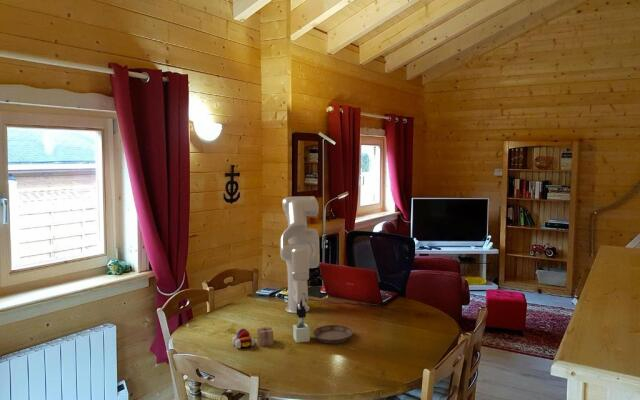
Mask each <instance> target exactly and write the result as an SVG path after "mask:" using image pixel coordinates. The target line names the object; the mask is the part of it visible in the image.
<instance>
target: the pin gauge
mask: <svg viewBox="0 0 640 400" xmlns="http://www.w3.org/2000/svg"><path fill="white" fill-rule="evenodd" d="M300 302H302V301H300ZM297 304H298V309H299V303H297ZM297 317H298V316H297ZM297 319H298V325H299V328H304V324H305V319H304V318H299V317H298V318H297Z"/></svg>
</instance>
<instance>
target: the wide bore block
mask: <svg viewBox="0 0 640 400" xmlns="http://www.w3.org/2000/svg"><path fill="white" fill-rule="evenodd" d="M292 328H293V330H292V333H293V334H292V335H293V340H294V341H295V343H305V342H310V340H311V339H310V338H311V337H310V336H311V334H310V329H311V328H310V326H309V325H308V323H304V328H299V325H298V324H293V325H292Z"/></svg>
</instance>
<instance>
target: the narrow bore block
mask: <svg viewBox="0 0 640 400" xmlns="http://www.w3.org/2000/svg"><path fill="white" fill-rule="evenodd" d="M256 331H257V333H256V335H257V337H256V338H257V343H258V345H260V346H259V347H264V346H265V345H266V346H272V344H273V345H274V330H273V328H272V326H262V327H257V329H256Z"/></svg>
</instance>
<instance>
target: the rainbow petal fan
mask: <svg viewBox="0 0 640 400" xmlns="http://www.w3.org/2000/svg"><path fill="white" fill-rule="evenodd" d="M231 343H232V344H233V345H234V346H235V347H236V348H237V349H241V348H242V347H244V348H245V347H249V346H250V345H251V346H250V347H253V346H254V345H256V344H255V343H256V339H255V338H254V337H253V336H252V335H251V334H250V332H249V331H248V330H247V329H246V328H241V329H239V330H238V331H237V332H236V335H235V336H232V338H231Z"/></svg>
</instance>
